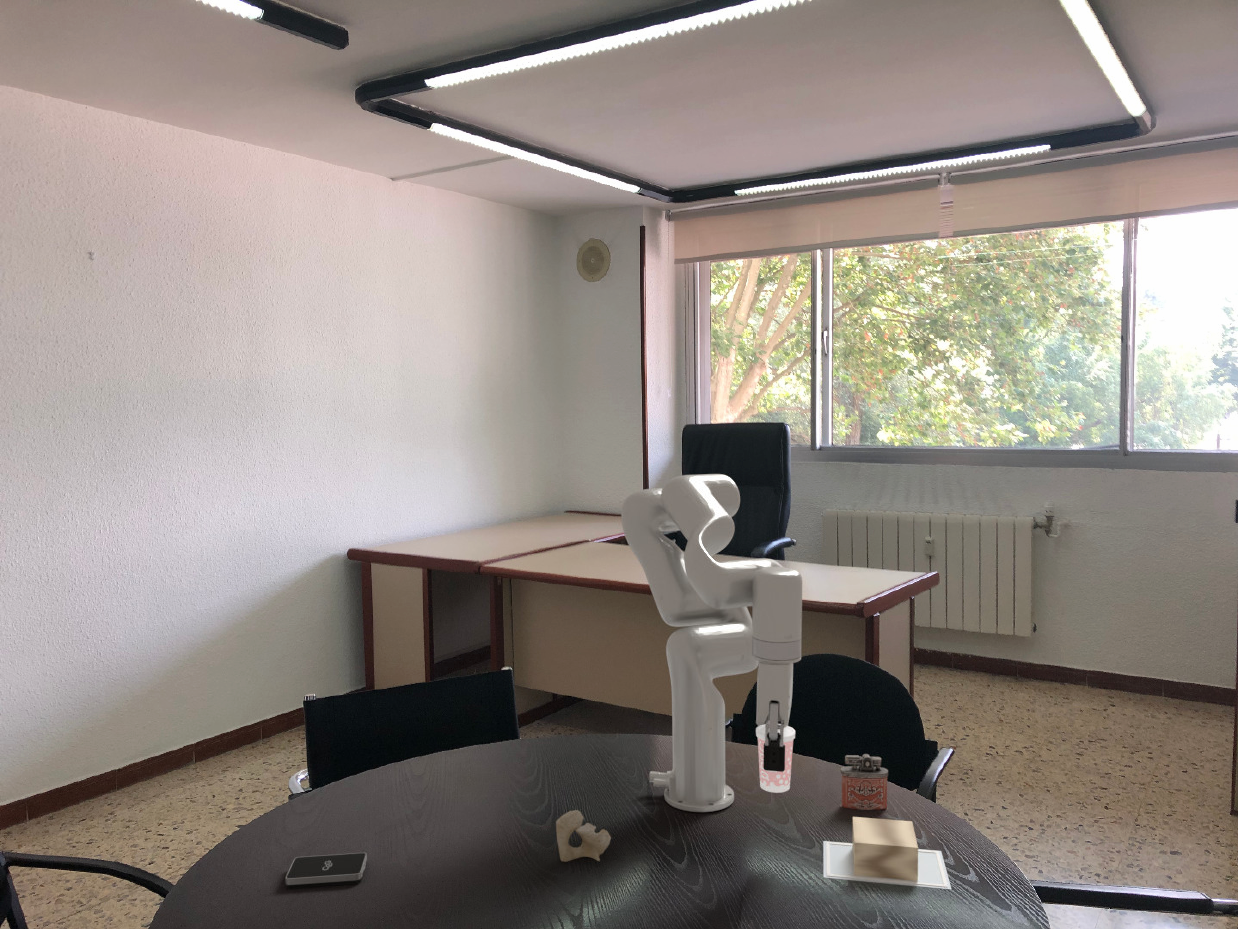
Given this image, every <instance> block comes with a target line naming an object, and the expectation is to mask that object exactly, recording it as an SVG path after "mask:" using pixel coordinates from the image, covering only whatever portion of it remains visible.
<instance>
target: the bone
mask: <svg viewBox="0 0 1238 929" xmlns="http://www.w3.org/2000/svg"><path fill="white" fill-rule="evenodd" d="M584 819H585V818H584V816H583V814H582V812H581V811H580V810H578V809H575V810H570V811H568V812H566V813H564V814H562V815H561V816H560V817H559V818H558V819H557V820H556V821H555V828H556V830H555V832H556V839H557V840H556V841H557V847H558V853H559V854H558V855H559V860H560V861H561V862H565V863H566V862H570V861H573V860H575V859H580V858H583V857H588V858H592V859H594V860H596V861H597V862H600V861H601V858H600V856H601V855H604V852H605V850H607V848H608V847H609V845H610V843H611V839H612V837H611V834H610V833H609V831H607V830H606V829H605V828H603V829H601V830H600V831H599V832H596V829H597V826H596V825H593V824H592V823H589V822H586V823H585V824H584V825H582V824H583V822H584ZM574 832H576V834H577V835H579V837H580V839H581V840H582V841H581V845H580V846H578V847H573V846H571V845H570V843H569V839H570V837H571V835H572V834H573V833H574Z"/></svg>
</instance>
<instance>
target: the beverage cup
mask: <svg viewBox="0 0 1238 929" xmlns="http://www.w3.org/2000/svg"><path fill="white" fill-rule="evenodd" d="M765 725H766V723H764V725H760V726H758V725H757V727H756V728H755V736H756V737H757V749H758V768H759V770H758V771H759V783H760V784H759V787H760V788H761V789H762V790H764V791H766V792H767V793H768V792H769V793H777V794H778V793H781V794H782V793H785V792H788V791H789V790H790V788H791V776H792V763H793V762H792V760H793V749H794V748H793V747H794V739H796V730H795V729H794V728H793V727H791V726H789V725H788V726H787V727H785V728H784V741H783V745H785V770H784V771H783V772H779V771H767V770H764V768H763V760H764V743H765ZM778 725H781V724H778ZM778 733H779V734H780V729H778Z"/></svg>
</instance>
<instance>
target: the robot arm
mask: <svg viewBox="0 0 1238 929" xmlns="http://www.w3.org/2000/svg"><path fill="white" fill-rule="evenodd" d="M740 494H741V493H740V490H739V488H738V486H737V484H736V482H735V481H734V480H733V479H732V477H730V476H728V475H726V474H721V473H707V474H683V475H678V476H675V477H673V478H671V479H670V480H668V481H667V482H665V484H664V485H663V487H657V488H654V487H653V488H646V489H641V490H637V491H634V492H632V493H630V494H629V495H628V496H626V498H625V499H624V501H623V502H622V506H621V512H620V513H621V525H622V526H621V527H622V530H623V533H624V534H623V535H624V537H625V539H626V540H625V541H627V544H628V546H629V548H630V550H631V552H632V553H633V555H634V556H635V557H636V559H637V561H638V562H639V564H640V565H641V567H642V569H643V572H644V574H645V577H646V580H647V583H648V586H649V588H650V591H651V594H652V597H653V599H654V603H655V605H656V608H657V611H658V613H659V615H660V617H661V619H662V621H664V623H665V624H666V625H668V626H670V627H675V628H678V629H677V630H675V631H673V632H672V633H671V634H670V636H669V637H668V638H667V642H666V644H665V645H666V646H665V653H666V659H667V664H668V665H667V666H668V670H669V671H668V672H669V676H670V677H669V678H670V684H671V685H670V686H671V687H670V688H671V713H672V714H671V717H672V720H671V722H672V769H671V770H667V771H666V772H660V771H654V770H653V771H649V775H648V776H649V777H648V778H649V780H648V781H649V783H653V787H658V788H661V787H662V788H665V790H664V795H663V796H664V800H665V801H666V803H667V804H669V805H670V806H671V807H673V808H676V809H678V810H682V811H686V812H690V813H691V812H692V813H710V812H717V811H720V810H723V809H726V808H728V807H730V806H731V805H732V804H733V802H734V800H735V792H734V790H733V789H732V788H731V786H729V785H728V784H726V705H725V700H724V698H723V695H722V693H721V692H720V691H719V689H717V687H716V686H715V684H714V682H713V679H717V678H721V677H728V676H736V675H741V674H742V675H743V674H745V673H746V674H747V673H750V672H752V671H754V670H756V669H757V676H756V677H757V679H756V682H757V683H756V720H755V724H756V725H757V727H758V726H760V725H764V724H766V725H765V743H764V760H763V768H764V770H767V771H779V772H783V771H784V770H785V745H783V741H784V728H785V727H787V726H789V720H790V715H791V708H792V703H793V702H792V699H793V687H794V686H793V684H794V681H793V680H794V679H793V678H794V664H795V663H799V662H800V661H801V660H802V639H803V638H802V627H803V626H802V624H803V623H802V622H803V577H802V575H801V573H800V572H799V571H797V570H796V569H793V568H790V567H784V566H783V565H782V564H780V563H779V561H777V560H775V559H772V558H763V557H762V558H750V559H748V558H747V559H736V560H723V561H716V560H715V559H713V558H712V557H714V556H715V555H716V554H718V553H719V552H721V551H722V550H724V549H725V548H726V547H727V546H728V545H729V544H730V542H731V541H732V539H733V537H734V534H735V528H736V526H735V522H734V520H733V518H732V517H734V516H735V515H736V514H737V512H738V510H739V508H740V504H741V496H740ZM677 531H680V532H681V533H682V535H683V536H684V537H685V539H686V540H687V543H686V546H685V550H682V549H681V548H680V546H678V545H677V543H675V542H674V541H673V540H671V539H670V538H668V537H667V536H666V535H664V534H663V533H664V532H677ZM748 607H752V611H751V612H752V613H750V612H749V609H748ZM751 614H752V615H751ZM679 627H681V628H679ZM778 724H781V725H778ZM778 729H780V734H779V733H778Z"/></svg>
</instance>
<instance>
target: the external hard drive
mask: <svg viewBox="0 0 1238 929" xmlns="http://www.w3.org/2000/svg"><path fill="white" fill-rule="evenodd" d="M367 857H368V856H367V852H351V853H338V854H325V855H322V854H321V855H310V856H309V855H308V856H307V855H306V856H297V857H295V858H294V859H293V861H292V863H291V865H290V867H289V869H288V871H287V873H286V876H285V888H286V889H287V890H296V889H297V890H298V889H311V888H322V887H323V888H325V887H335V886H336V887H338V886H339V887H340V886H350V885H351V886H353V885H359V884H360V883H361V882H362V878H363V876H364V874H365V869H366V865H367V862H368V858H367Z"/></svg>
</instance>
